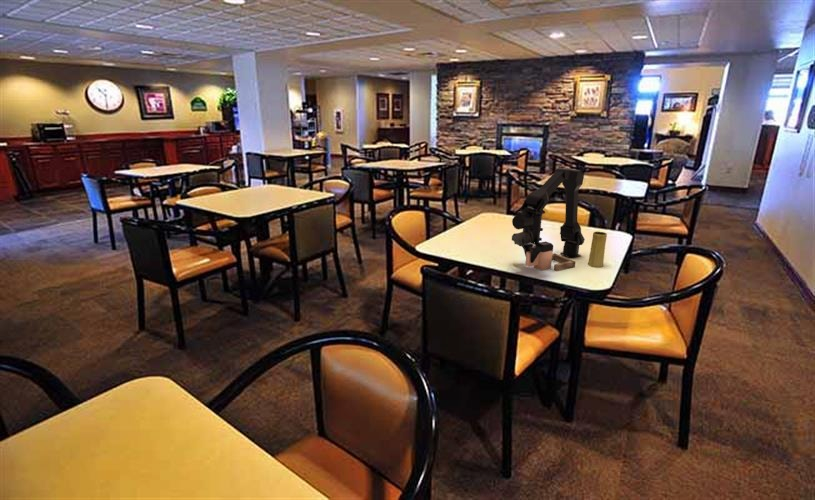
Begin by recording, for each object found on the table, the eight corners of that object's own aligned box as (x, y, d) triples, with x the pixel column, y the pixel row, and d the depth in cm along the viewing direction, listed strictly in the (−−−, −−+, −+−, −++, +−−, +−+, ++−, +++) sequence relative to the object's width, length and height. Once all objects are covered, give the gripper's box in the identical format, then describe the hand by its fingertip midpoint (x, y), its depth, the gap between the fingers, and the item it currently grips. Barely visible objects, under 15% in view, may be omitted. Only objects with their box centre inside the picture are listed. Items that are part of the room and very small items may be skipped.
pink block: (542, 263, 188) (544, 243, 185) (554, 268, 182) (556, 248, 179) (520, 267, 183) (522, 247, 180) (532, 273, 177) (534, 252, 174)
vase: (604, 267, 183) (609, 235, 178) (589, 266, 184) (593, 234, 180) (601, 263, 189) (606, 231, 184) (586, 262, 190) (590, 230, 185)
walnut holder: (554, 258, 194) (554, 253, 193) (574, 267, 184) (575, 261, 183) (536, 262, 190) (536, 256, 189) (556, 271, 179) (556, 265, 179)
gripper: (502, 222, 179) (500, 257, 184) (534, 233, 163) (530, 272, 168) (523, 219, 184) (520, 254, 189) (556, 230, 168) (551, 267, 173)
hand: (529, 261), depth 179 cm, fingers closed on pink block
